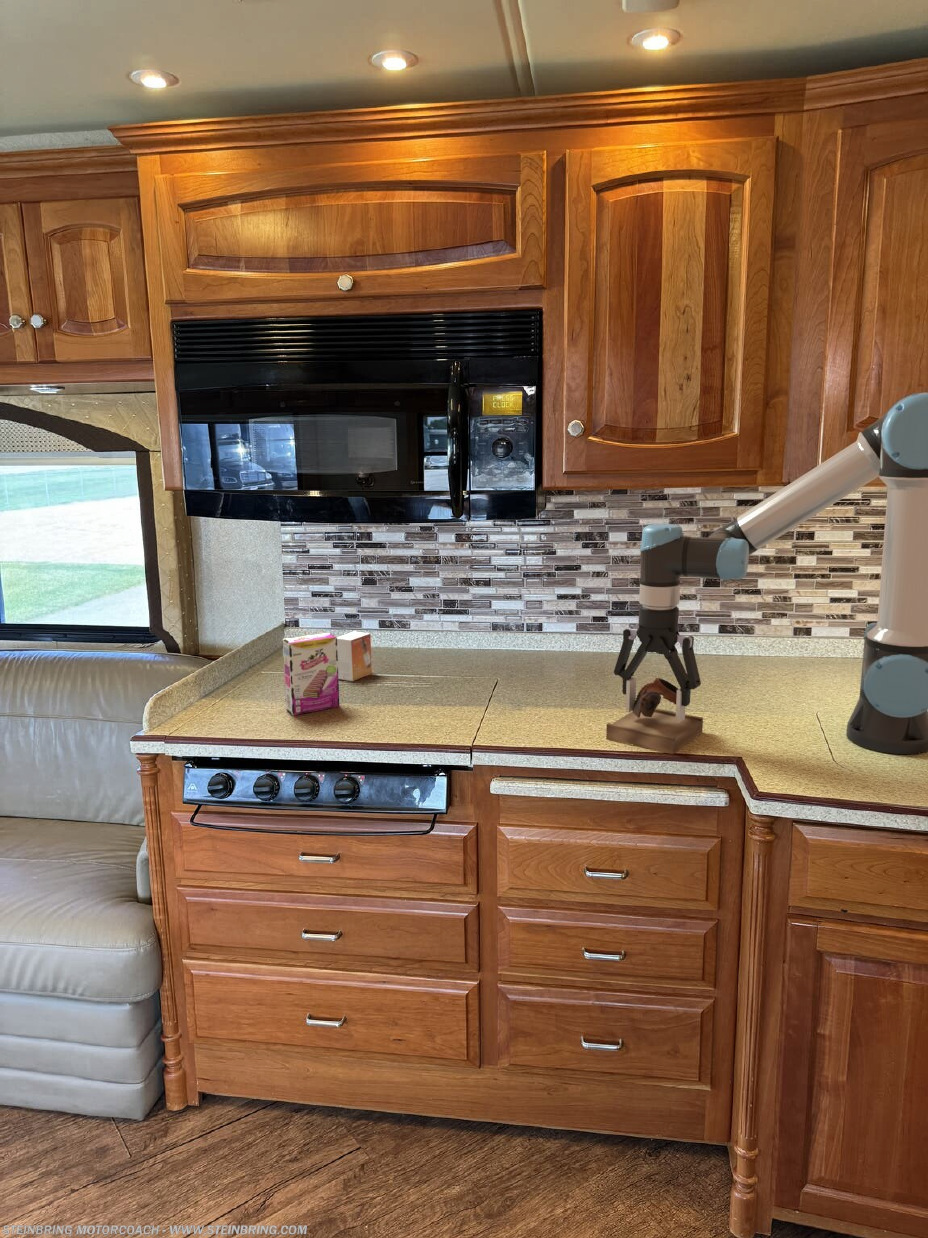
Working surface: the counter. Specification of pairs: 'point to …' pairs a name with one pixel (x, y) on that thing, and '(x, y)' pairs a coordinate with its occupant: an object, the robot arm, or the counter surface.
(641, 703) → the brown hollow arched piece
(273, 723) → the counter surface
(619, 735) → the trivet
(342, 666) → the small box
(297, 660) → the candy bar box
